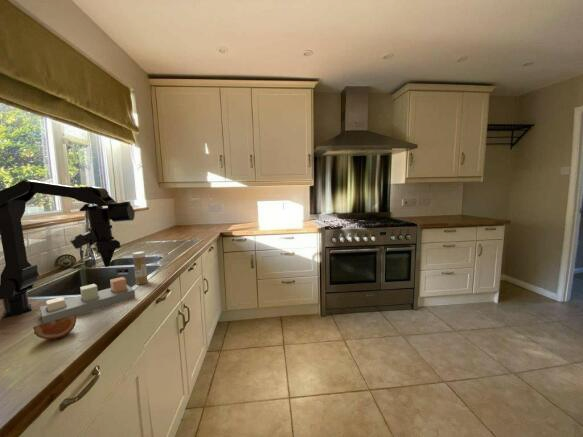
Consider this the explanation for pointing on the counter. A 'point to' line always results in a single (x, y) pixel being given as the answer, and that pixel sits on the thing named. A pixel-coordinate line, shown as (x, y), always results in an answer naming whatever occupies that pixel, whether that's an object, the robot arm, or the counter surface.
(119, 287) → the terracotta key
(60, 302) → the ivory key
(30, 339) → the counter surface
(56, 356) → the counter surface
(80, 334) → the counter surface
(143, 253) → the sprinkles bottle
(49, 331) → the fruit slice
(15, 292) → the robot arm
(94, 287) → the sage key
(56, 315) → the key panel
